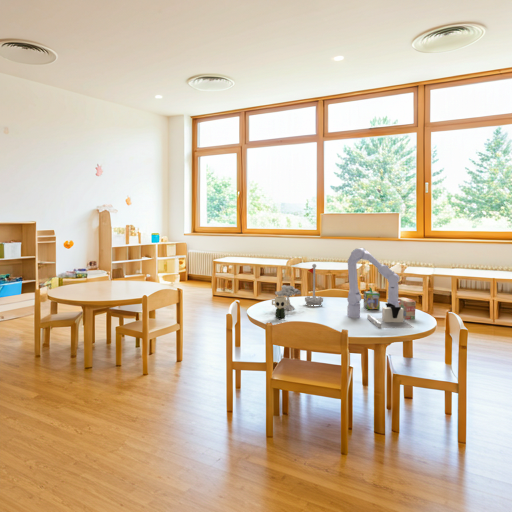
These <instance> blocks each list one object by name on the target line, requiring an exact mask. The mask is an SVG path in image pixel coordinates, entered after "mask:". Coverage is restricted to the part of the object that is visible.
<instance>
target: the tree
mask: <svg viewBox="0 0 512 512" xmlns="http://www.w3.org/2000/svg"><path fill="white" fill-rule="evenodd" d="M274 294H275V296H283V297H286V300H289V305H286V307H285V308H284V309H286V310H285V311H289V310H290V311H293V310H294V309H295V307H294V306H293V305H292V304H291V302H290V297H293V296H294V297H295V295H301V294H302V292H301V290H299V289H298V288H295V286H293V285H285V284H283V285H281V290H278V291H274ZM286 304H288V302H286ZM292 309H293V310H292Z"/></svg>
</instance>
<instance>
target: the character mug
mask: <svg viewBox="0 0 512 512" xmlns="http://www.w3.org/2000/svg"><path fill="white" fill-rule="evenodd" d="M289 300H290V299H289ZM289 300H287V296H278V295H276V296H275V297H274V299H272V300H271V305H272V306H274V307H275V308H276V309H275V314H274V315H275V316H274V317H275V318H278V319H279V318H280V319H282V318H283V319H284V318H286V310H285V309H284V308H285V307H286V305H289ZM286 302H288V304H286Z"/></svg>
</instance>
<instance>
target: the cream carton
mask: <svg viewBox="0 0 512 512" xmlns="http://www.w3.org/2000/svg"><path fill="white" fill-rule="evenodd" d="M381 316H382V317H381V318H382V321H384V322H403V321H404V318H403V308H401V309H400V310H399V313H398V316H397V318H393V315H392V309H391V307H387V306H382V315H381Z"/></svg>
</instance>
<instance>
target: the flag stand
mask: <svg viewBox="0 0 512 512" xmlns="http://www.w3.org/2000/svg"><path fill="white" fill-rule="evenodd" d="M316 268H317V264H316V263H313V264H312V268H310V269H308V270H307V272H309V273H311V274H312V297H311V296H309V295H308V296H305V297H304V302H305V304H307V305H313V306H312V307H315V306H314V305H321V304H322V303H323V302H324V297H322V296H318V297H317V296H316ZM307 305H306V306H307ZM321 306H322V305H321Z"/></svg>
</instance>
